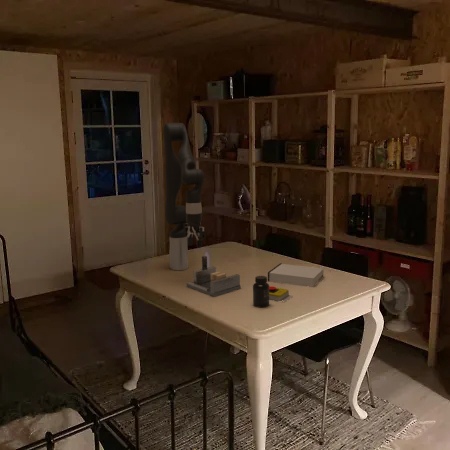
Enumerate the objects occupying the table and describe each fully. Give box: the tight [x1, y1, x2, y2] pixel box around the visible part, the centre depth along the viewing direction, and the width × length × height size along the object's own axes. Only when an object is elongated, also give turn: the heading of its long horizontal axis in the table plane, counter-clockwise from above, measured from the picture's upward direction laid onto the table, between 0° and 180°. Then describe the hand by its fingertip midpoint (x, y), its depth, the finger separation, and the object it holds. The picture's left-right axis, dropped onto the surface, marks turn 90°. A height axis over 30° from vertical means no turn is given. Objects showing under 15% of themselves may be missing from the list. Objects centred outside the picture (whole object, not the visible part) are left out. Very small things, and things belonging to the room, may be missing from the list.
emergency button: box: [269, 285, 294, 303], centre depth 224 cm, size 9×4×15 cm
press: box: [186, 273, 242, 298], centre depth 236 cm, size 20×16×6 cm
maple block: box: [211, 271, 227, 281], centre depth 234 cm, size 5×5×6 cm
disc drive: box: [267, 262, 325, 288], centre depth 247 cm, size 18×22×5 cm
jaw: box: [192, 255, 217, 284], centre depth 240 cm, size 2×12×12 cm, turn 132°
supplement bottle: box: [252, 275, 270, 308], centre depth 213 cm, size 7×7×12 cm
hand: (194, 246), depth 243 cm, fingers open, 6 cm apart
